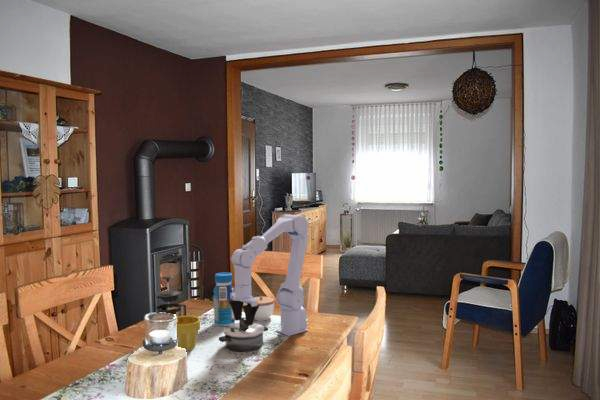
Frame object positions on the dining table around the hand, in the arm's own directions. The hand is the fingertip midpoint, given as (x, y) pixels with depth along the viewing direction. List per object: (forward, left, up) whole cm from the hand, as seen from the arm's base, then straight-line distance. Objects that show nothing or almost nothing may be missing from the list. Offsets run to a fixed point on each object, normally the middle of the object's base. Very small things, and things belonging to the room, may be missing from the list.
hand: (243, 322), depth 173 cm
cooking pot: (0, 0, -8) cm, 8 cm away
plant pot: (+17, -11, -8) cm, 22 cm away
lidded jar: (-22, -22, -8) cm, 32 cm away
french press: (+17, -23, -8) cm, 30 cm away
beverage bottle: (-7, -26, -8) cm, 28 cm away
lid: (0, 0, -3) cm, 3 cm away
